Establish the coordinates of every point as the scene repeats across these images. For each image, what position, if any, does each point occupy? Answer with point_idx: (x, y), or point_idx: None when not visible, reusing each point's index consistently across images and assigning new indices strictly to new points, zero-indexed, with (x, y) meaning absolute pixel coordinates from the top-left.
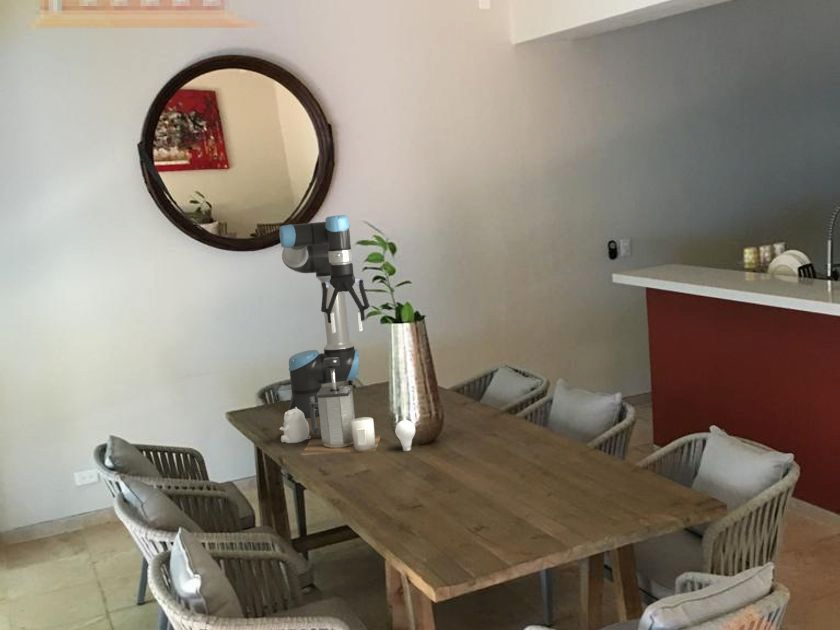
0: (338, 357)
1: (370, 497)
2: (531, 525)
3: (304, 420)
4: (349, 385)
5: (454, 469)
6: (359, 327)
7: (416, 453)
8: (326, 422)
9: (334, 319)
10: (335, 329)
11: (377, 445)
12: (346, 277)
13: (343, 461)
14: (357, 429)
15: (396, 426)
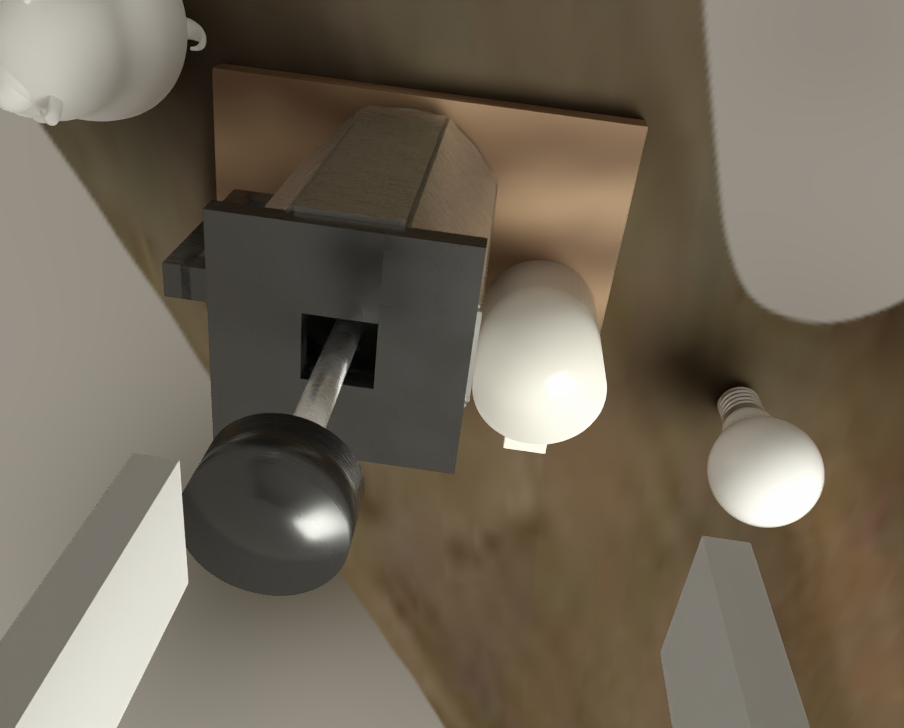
0: (337, 510)
1: (533, 721)
2: None
3: (134, 65)
4: (458, 247)
5: (870, 609)
6: (680, 719)
7: (780, 401)
8: None
9: (47, 689)
10: (160, 496)
11: (606, 305)
12: None
13: None
14: (506, 446)
15: (721, 494)
